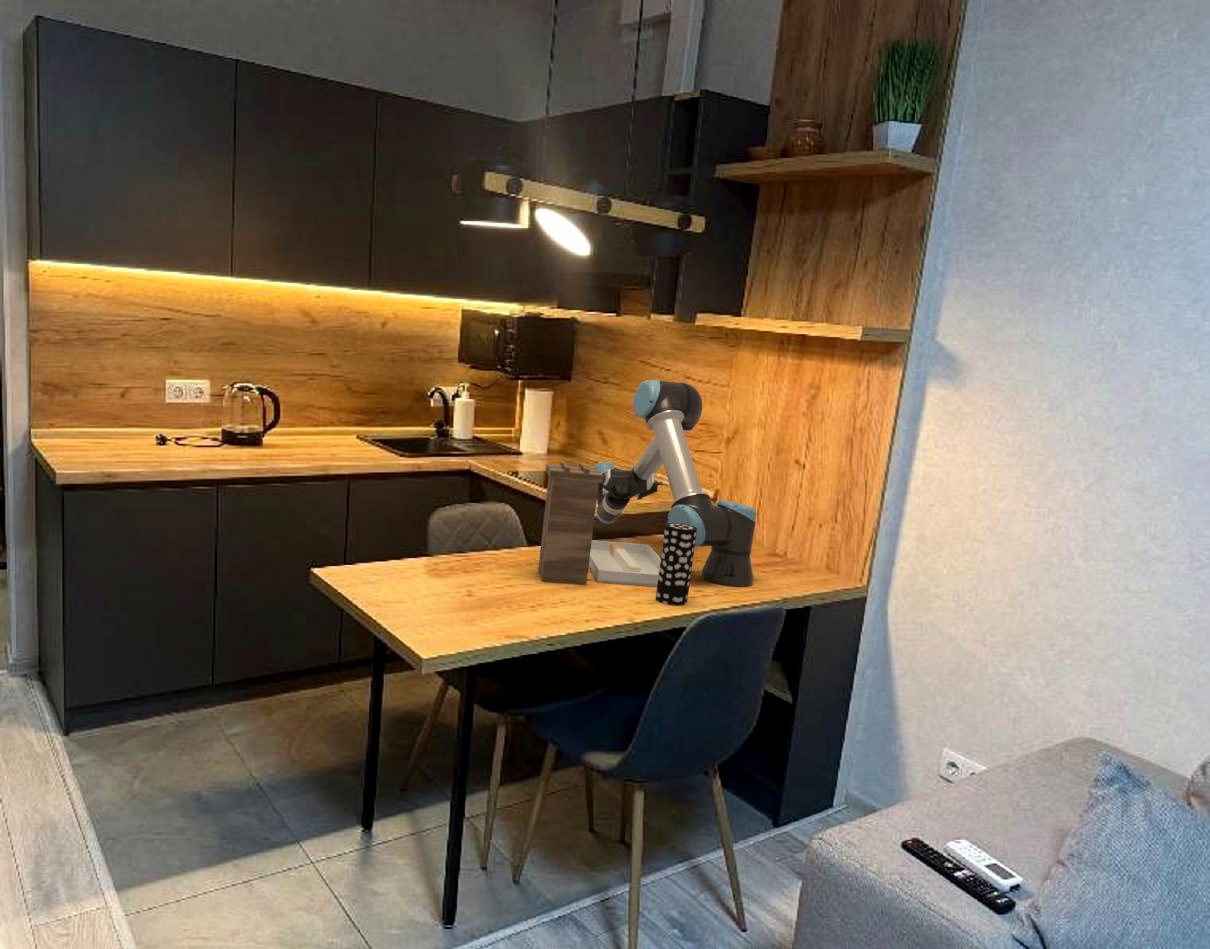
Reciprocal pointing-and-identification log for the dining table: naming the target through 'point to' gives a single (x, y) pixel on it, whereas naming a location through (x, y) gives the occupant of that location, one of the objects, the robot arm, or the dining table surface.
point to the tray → (612, 573)
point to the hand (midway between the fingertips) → (631, 475)
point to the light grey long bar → (623, 558)
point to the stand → (568, 523)
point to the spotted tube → (676, 564)
